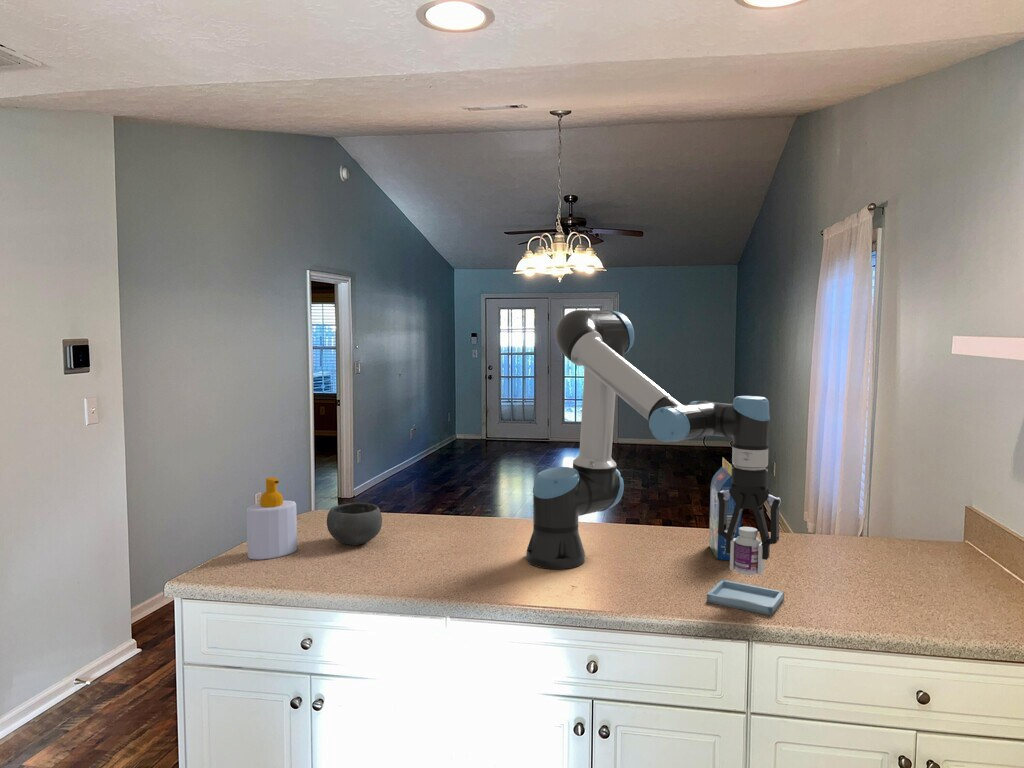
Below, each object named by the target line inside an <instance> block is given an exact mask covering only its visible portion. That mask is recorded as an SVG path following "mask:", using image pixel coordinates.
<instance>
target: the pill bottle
mask: <svg viewBox="0 0 1024 768" xmlns="http://www.w3.org/2000/svg"><path fill="white" fill-rule="evenodd" d="M758 532H759V529H757V528H755V527H752V526H742V527H740V528H739V535H740V536H738V537H737V538H736V540H735V565H734V571H735V572H736V573H738V574H741V575H745V576H755V575H758V545H759V544H760V543H761V539H759V537H758V535H759V533H758Z"/></svg>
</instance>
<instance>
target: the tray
mask: <svg viewBox="0 0 1024 768" xmlns="http://www.w3.org/2000/svg"><path fill="white" fill-rule="evenodd" d="M784 600H785V591H783V590H776V589H773V588H767V587H763V586H758V585H752V584H748V583H741V582H736V581H731V580H727V579H721V580H720V581H718V583H717V584H716V585H715V586H714V587H713V588H711V589H710V590H709V591H708V593H706V603H711V604H714V605H719V606H724V607H729V608H731V609H738V610H742V611H747V612H752V613H757V614H760V615H766V616H770V617H773V615H774V614H775V612H776V611H777V610H778V608H779V607H780V606H781V604H782V603H783V601H784Z"/></svg>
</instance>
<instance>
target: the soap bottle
mask: <svg viewBox="0 0 1024 768" xmlns="http://www.w3.org/2000/svg"><path fill="white" fill-rule="evenodd" d="M278 484H280V481H279V479H278V478H277V477H274V476H273V477H267V478H265V488H266V489H265V491H264V492H263V493H262V494H261V496H260V499H259V502H260V503H256V504H253V505H250V506H249V507H247V508H246V538H247V539H246V541H247V542H246V543H247V557H248V559H251V560H258V561H259V560H269V559H270V560H271V559H276V558H281V557H285V556H287V555H288V556H289V555H290V554H293V553H296V551H297V550H298V530H297V529H298V525H297V524H298V523H297V520H298V519H297V516H298V515H297V514H298V513H297V503H296V501H295V500H284V497H283V495H282V493H281V492H279V491H278V489H277V487H278V486H277V485H278Z"/></svg>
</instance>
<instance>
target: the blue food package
mask: <svg viewBox="0 0 1024 768" xmlns="http://www.w3.org/2000/svg"><path fill="white" fill-rule="evenodd" d="M732 468H733V464H732V463H729V461H727V459H725V457H722V466H721V467H720V468H719V469H718V470H717V471H716V472H715V474H714V475H713V477H712V478H711V483H710V494H709V495H710V496H709V498H710V501H709V502H710V503H709V533H708V536H709V537H708V546H709V548H710V550H711V551H712V554H713V555H714V557H715V558H716V559H717V560H720V561H730V554H729V553H727V552H726V538H725V537H723V536H720V535H718V520H719V500H718V496H717V493H718V492H720V491H722V490H724V491H727V490H729V489H730V487H731V485H732ZM735 504H736V503H735V501H734V500H733V498H732V497H731V495H730V496H729V499H728V510H727V528H726V530H727V531H728V528H729V525H730V522H731V518H732V515H733V512H734V508H735ZM740 527H743V512H742V513H741V516H740V519H739V522H738V525H737V528H736V531H735V536H734V538H737V537H738V536H740V535H739V528H740Z"/></svg>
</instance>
